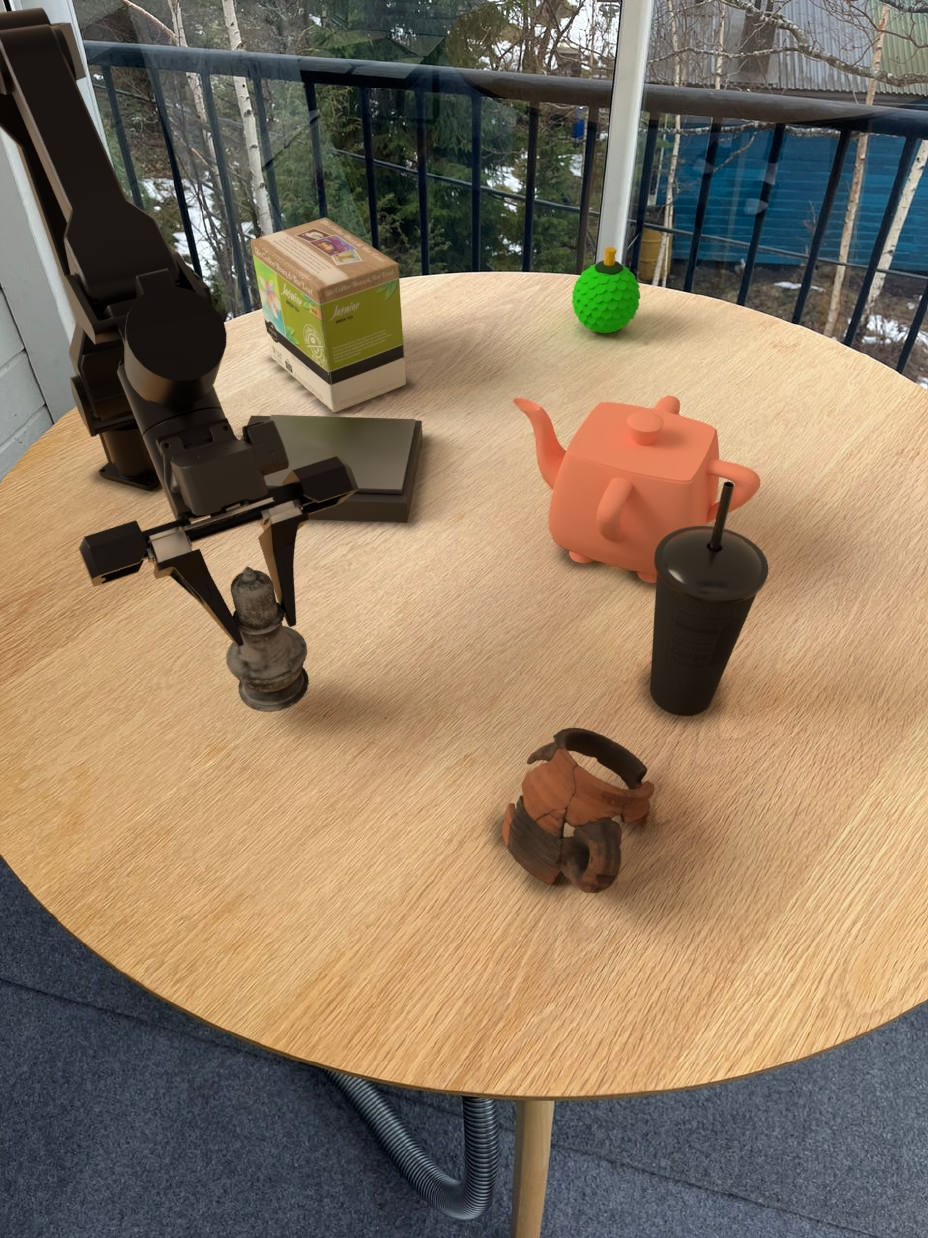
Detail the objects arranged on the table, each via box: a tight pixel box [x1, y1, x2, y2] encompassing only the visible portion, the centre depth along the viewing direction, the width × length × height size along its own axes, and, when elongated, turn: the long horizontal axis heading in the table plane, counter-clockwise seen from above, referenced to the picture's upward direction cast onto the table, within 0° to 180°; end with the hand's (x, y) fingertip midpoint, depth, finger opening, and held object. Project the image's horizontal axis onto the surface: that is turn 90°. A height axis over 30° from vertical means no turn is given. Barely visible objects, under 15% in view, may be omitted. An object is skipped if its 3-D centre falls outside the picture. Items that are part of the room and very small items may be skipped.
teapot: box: [512, 395, 761, 584], centre depth 82 cm, size 17×16×13 cm
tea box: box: [250, 217, 407, 413], centre depth 104 cm, size 15×10×15 cm, turn 36°
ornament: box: [571, 246, 641, 334], centre depth 112 cm, size 8×8×10 cm
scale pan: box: [264, 414, 417, 494], centre depth 92 cm, size 15×12×1 cm
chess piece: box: [225, 565, 310, 713], centre depth 67 cm, size 6×6×12 cm
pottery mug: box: [501, 727, 656, 894], centre depth 62 cm, size 12×10×8 cm
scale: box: [227, 415, 424, 524], centre depth 94 cm, size 18×14×3 cm
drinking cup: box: [649, 481, 770, 717], centre depth 66 cm, size 8×8×20 cm
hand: (266, 636), depth 66 cm, fingers closed on chess piece, 3 cm apart
